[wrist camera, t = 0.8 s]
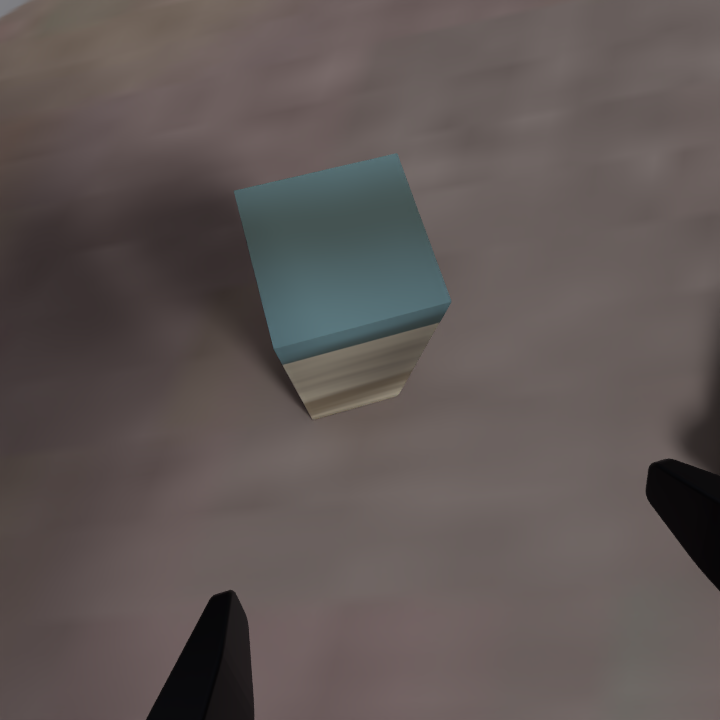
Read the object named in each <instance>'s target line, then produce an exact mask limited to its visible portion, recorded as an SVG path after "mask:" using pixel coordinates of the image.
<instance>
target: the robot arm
mask: <svg viewBox="0 0 720 720" xmlns="http://www.w3.org/2000/svg"><path fill="white" fill-rule="evenodd" d="M646 496H647V499H648V501H649V502H650V504H651V505H652V507H653V508H654V509H655V511H656V512H657V513H658V515H659V516H660V517H661V519H662V520H663V521H664V523H665V524H666V525H667V527H668V528H669V529H670V531H671V532H672V533H673V535H674V536H675V537H676V539H677V540H678V541H679V543H680V544H681V545H682V547H683V548H684V549H685V551H686V552H687V553H688V555H689V556H690V557H691V558H692V560H693V561H694V562H695V563H696V565H697V566H698V567H699V568H700V569H701V571H702V572H703V573H704V574H705V575H706V576H707V578H708V579H709V580H710V581H711V582H712V583H713V584H714V585H715V586H716V588H717V589H718V590H719V591H720V476H719V475H716V474H714V473H711V472H708V471H705V470H702V469H699V468H697V467H694V466H691V465H688V464H685V463H683V462H680V461H677V460H674V459H664V460H660V461H657V462H654V463H652V464H651V465H650V466H649V469H648V476H647V484H646ZM146 720H254V697H253V683H252V669H251V655H250V641H249V627H248V621H247V617H246V614H245V612H244V610H243V608H242V605H241V603H240V601H239V599H238V597H237V595H236V593H235V592H234V591H233V590H228V591H225V592H222V593H218V594H215V595H213V596H212V597H211V598H210V600H209V602H208V604H207V606H206V607H205V609H204V611H203V613H202V615H201V617H200V619H199V621H198V622H197V624H196V626H195V628H194V630H193V632H192V634H191V636H190V638H189V639H188V641H187V643H186V645H185V647H184V649H183V651H182V653H181V655H180V656H179V658H178V660H177V662H176V664H175V666H174V668H173V670H172V671H171V673H170V675H169V677H168V679H167V681H166V683H165V685H164V687H163V688H162V690H161V692H160V694H159V696H158V698H157V700H156V702H155V703H154V705H153V707H152V709H151V711H150V713H149V715H148V717H147V719H146Z"/></svg>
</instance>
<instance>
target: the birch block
mask: <svg viewBox="0 0 720 720" xmlns="http://www.w3.org/2000/svg"><path fill="white" fill-rule="evenodd" d="M234 194H235V198H236V202H237V206H238V210H239V214H240V217H241V221H242V225H243V229H244V233H245V237H246V241H247V245H248V249H249V253H250V257H251V261H252V265H253V269H254V273H255V277H256V281H257V285H258V289H259V293H260V297H261V301H262V305H263V309H264V312H265V316H266V320H267V324H268V328H269V332H270V336H271V340H272V344H273V348H274V350H275V352H276V354H277V356H278V358H279V360H280V361H281V363H282V365H283V367H284V369H285V370H286V372H287V374H288V376H289V378H290V380H291V381H292V383H293V385H294V387H295V389H296V390H297V392H298V394H299V396H300V398H301V400H302V401H303V403H304V405H305V407H306V409H307V410H308V412H309V414H310V416H311V418H312V420H315V419H319V418H322V417H326V416H329V415H333V414H336V413H340V412H343V411H347V410H350V409H354V408H357V407H361V406H364V405H368V404H371V403H375V402H378V401H382V400H385V399H389V398H392V397H396V396H398V395H399V393H400V391H401V390H402V388H403V386H404V384H405V383H406V381H407V379H408V377H409V376H410V374H411V372H412V370H413V369H414V367H415V365H416V363H417V362H418V360H419V358H420V356H421V354H422V353H423V351H424V349H425V347H426V346H427V344H428V342H429V340H430V339H431V337H432V335H433V333H434V332H435V330H436V328H437V326H438V325H439V323H440V321H441V319H442V318H443V316H444V314H445V312H446V311H447V309H448V307H449V305H450V304H451V299H450V296H449V294H448V291H447V288H446V285H445V283H444V280H443V277H442V274H441V272H440V269H439V266H438V264H437V261H436V258H435V255H434V253H433V250H432V247H431V244H430V242H429V239H428V236H427V234H426V231H425V228H424V225H423V223H422V220H421V217H420V214H419V212H418V209H417V206H416V204H415V201H414V198H413V195H412V193H411V190H410V187H409V184H408V182H407V179H406V176H405V174H404V171H403V168H402V165H401V163H400V160H399V157H398V154H397V153H396V154H392V155H388V156H383V157H379V158H375V159H370V160H366V161H362V162H357V163H353V164H349V165H344V166H340V167H335V168H331V169H327V170H322V171H318V172H314V173H309V174H305V175H301V176H296V177H292V178H288V179H283V180H279V181H275V182H270V183H266V184H262V185H257V186H253V187H249V188H244V189H240V190H236V191H234Z"/></svg>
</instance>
